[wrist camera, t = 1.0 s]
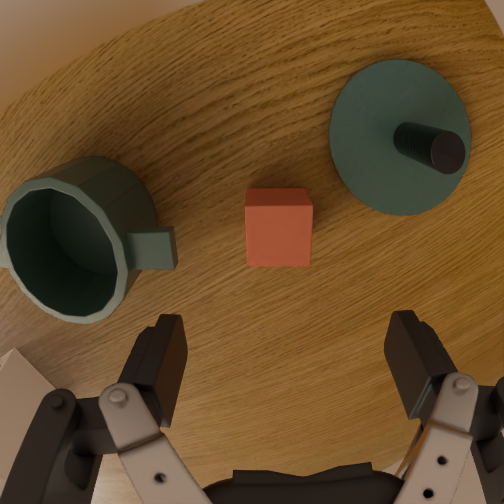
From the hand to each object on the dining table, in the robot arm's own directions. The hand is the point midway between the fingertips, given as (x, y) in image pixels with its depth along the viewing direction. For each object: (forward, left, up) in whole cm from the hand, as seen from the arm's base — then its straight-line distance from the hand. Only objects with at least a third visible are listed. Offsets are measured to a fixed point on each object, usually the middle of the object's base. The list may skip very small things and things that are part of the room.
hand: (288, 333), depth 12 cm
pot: (0, -14, -13) cm, 19 cm away
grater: (+23, -34, -13) cm, 43 cm away
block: (0, 0, -13) cm, 13 cm away
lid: (-6, +9, -12) cm, 16 cm away
